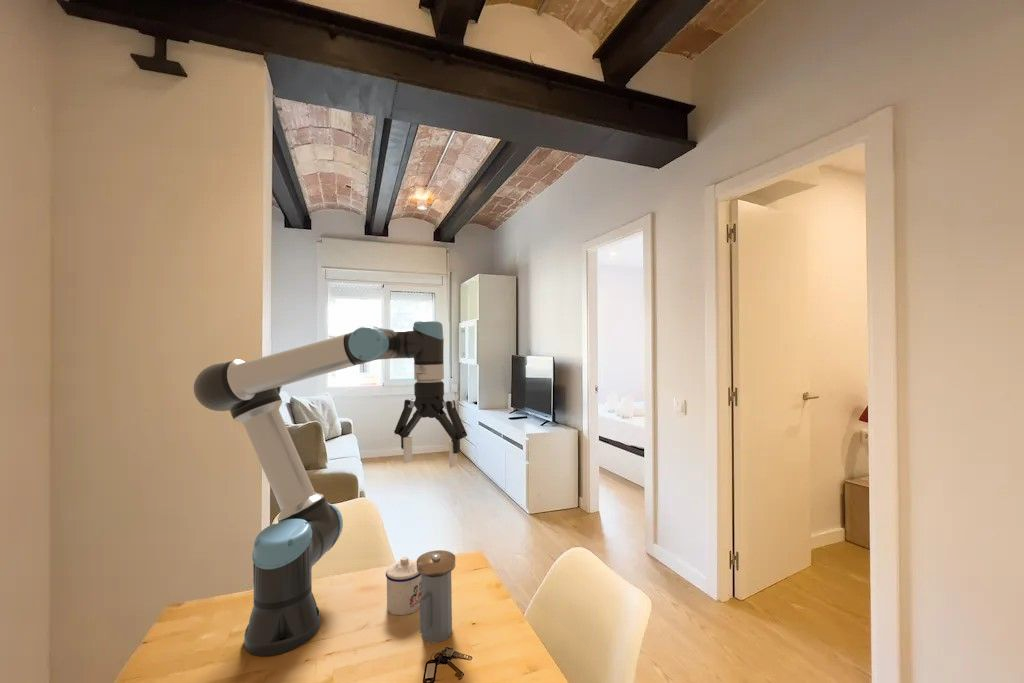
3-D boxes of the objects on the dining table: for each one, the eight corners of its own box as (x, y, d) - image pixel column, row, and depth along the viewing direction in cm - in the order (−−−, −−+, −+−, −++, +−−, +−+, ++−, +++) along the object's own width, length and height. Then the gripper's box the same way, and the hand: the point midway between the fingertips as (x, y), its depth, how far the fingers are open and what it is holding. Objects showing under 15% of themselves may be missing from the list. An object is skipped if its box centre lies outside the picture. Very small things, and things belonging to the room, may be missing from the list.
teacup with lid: (416, 617, 102) (416, 568, 103) (379, 615, 103) (379, 566, 104) (431, 589, 114) (430, 545, 115) (398, 588, 115) (397, 544, 116)
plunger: (409, 628, 95) (409, 561, 95) (429, 605, 103) (429, 544, 103) (444, 636, 92) (443, 567, 92) (462, 612, 100) (461, 549, 100)
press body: (409, 646, 92) (408, 580, 93) (431, 620, 101) (430, 560, 102) (436, 653, 90) (435, 586, 90) (456, 626, 99) (456, 564, 99)
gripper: (380, 381, 112) (380, 463, 112) (465, 382, 103) (466, 472, 103) (397, 379, 119) (398, 456, 119) (479, 380, 110) (480, 464, 110)
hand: (430, 464), depth 111 cm, fingers open, 13 cm apart
